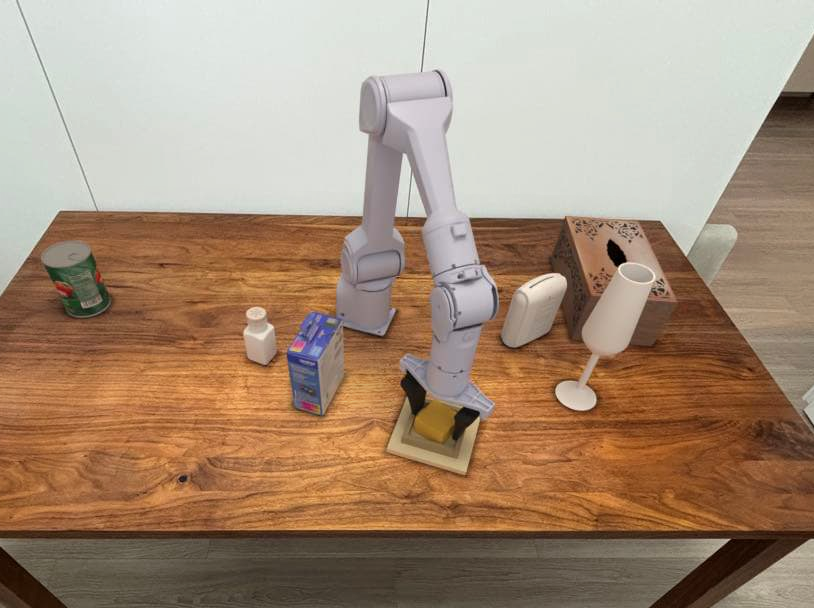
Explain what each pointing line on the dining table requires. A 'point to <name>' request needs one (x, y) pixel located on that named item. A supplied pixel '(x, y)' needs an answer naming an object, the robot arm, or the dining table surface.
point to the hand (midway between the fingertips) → (437, 423)
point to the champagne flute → (609, 328)
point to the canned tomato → (76, 278)
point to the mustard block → (435, 422)
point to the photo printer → (533, 309)
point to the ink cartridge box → (316, 362)
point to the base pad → (429, 452)
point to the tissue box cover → (607, 272)
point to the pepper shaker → (259, 336)
